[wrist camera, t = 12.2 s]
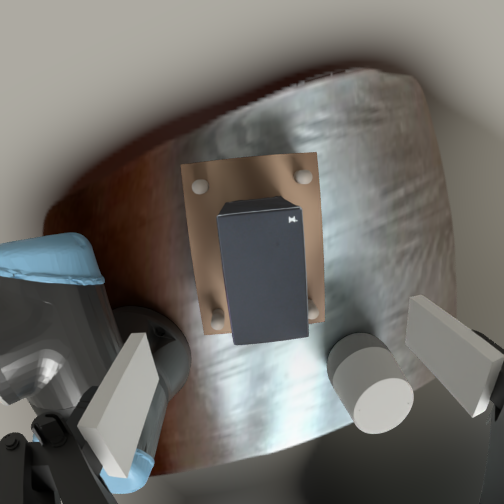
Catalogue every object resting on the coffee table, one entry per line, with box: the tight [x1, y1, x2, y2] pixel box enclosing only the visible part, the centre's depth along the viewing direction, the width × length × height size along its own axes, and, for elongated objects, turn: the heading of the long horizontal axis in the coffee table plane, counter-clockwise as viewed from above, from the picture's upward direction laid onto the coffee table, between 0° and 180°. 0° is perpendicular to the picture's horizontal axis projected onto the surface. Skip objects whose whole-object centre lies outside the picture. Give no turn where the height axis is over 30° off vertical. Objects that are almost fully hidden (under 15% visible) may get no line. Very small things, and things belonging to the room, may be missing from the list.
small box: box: [216, 195, 309, 345], centre depth 27 cm, size 11×6×10 cm, turn 6°
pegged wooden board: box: [181, 152, 325, 335], centre depth 34 cm, size 14×19×8 cm
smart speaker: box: [327, 333, 413, 434], centre depth 36 cm, size 10×9×14 cm
